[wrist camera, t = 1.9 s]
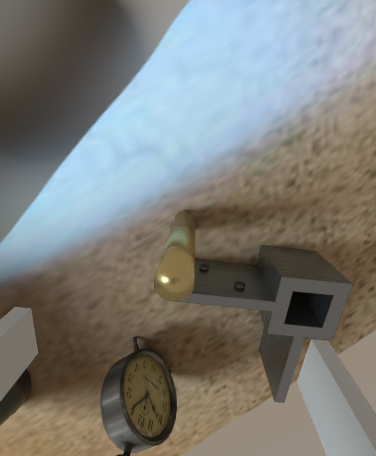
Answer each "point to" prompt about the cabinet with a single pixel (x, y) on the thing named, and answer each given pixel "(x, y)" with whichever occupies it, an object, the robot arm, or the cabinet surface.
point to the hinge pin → (178, 260)
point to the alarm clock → (138, 401)
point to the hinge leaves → (278, 302)
